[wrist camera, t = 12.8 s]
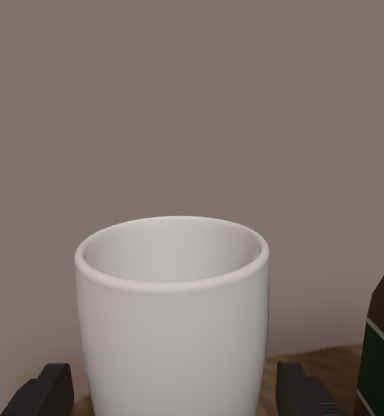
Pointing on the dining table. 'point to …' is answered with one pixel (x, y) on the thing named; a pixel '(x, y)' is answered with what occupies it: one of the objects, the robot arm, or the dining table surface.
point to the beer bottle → (372, 360)
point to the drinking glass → (173, 317)
